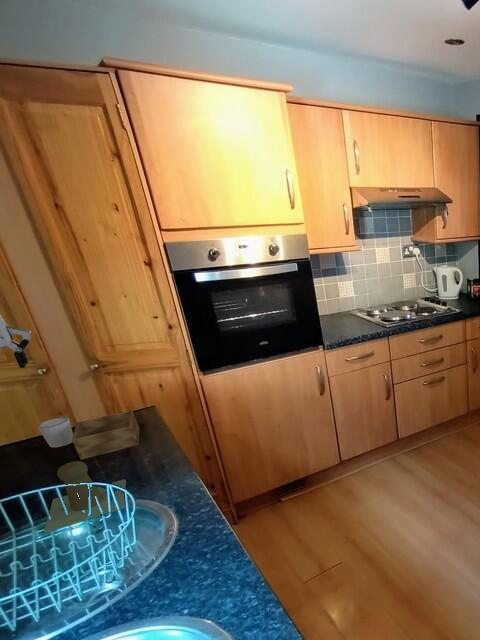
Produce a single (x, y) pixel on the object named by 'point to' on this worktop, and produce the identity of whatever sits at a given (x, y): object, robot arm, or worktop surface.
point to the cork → (77, 475)
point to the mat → (74, 517)
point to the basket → (106, 434)
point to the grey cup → (56, 431)
